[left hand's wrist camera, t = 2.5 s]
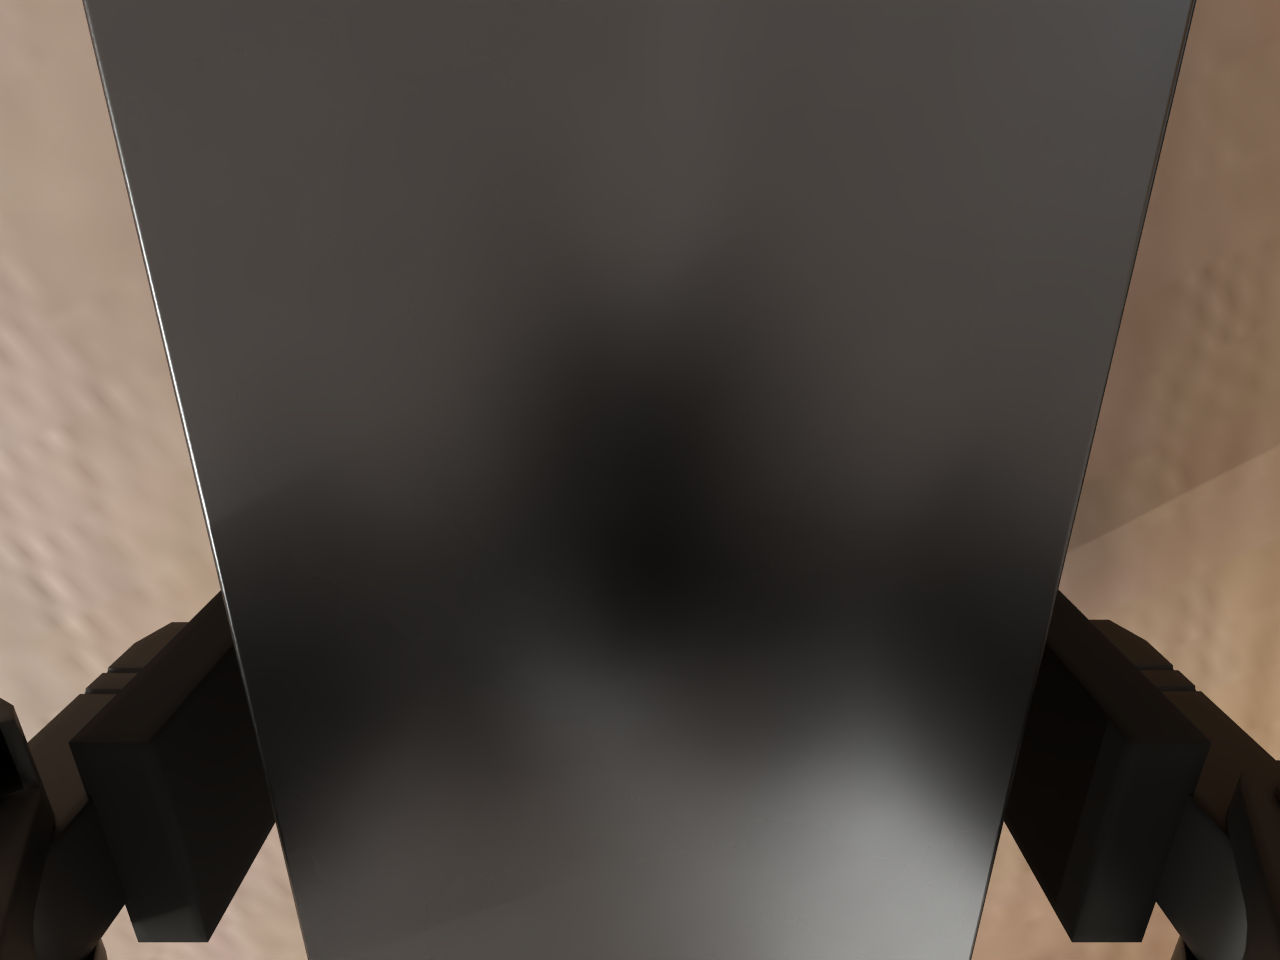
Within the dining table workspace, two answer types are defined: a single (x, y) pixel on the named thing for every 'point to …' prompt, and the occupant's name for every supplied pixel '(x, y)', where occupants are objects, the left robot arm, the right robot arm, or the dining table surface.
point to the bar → (639, 439)
